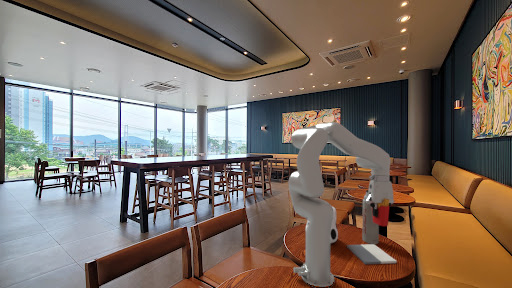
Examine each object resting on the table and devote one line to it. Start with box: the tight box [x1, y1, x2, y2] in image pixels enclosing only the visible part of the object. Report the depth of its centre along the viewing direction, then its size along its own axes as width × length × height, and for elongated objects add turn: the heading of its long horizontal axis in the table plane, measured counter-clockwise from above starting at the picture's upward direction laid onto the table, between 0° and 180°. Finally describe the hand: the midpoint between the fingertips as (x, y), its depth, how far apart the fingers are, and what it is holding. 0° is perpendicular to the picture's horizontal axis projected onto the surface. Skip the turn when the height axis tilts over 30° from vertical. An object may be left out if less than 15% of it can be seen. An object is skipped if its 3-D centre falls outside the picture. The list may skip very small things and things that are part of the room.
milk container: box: [305, 206, 339, 245], centre depth 118 cm, size 17×17×18 cm
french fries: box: [371, 198, 390, 227], centre depth 101 cm, size 9×4×13 cm, turn 13°
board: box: [346, 243, 397, 265], centre depth 103 cm, size 15×16×1 cm
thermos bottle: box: [361, 189, 380, 245], centre depth 118 cm, size 8×8×28 cm
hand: (379, 216), depth 101 cm, fingers closed on french fries, 4 cm apart
